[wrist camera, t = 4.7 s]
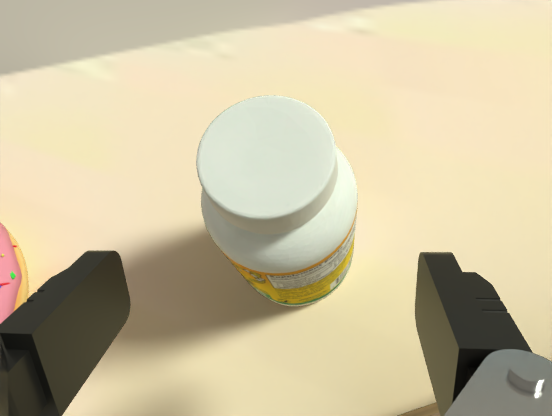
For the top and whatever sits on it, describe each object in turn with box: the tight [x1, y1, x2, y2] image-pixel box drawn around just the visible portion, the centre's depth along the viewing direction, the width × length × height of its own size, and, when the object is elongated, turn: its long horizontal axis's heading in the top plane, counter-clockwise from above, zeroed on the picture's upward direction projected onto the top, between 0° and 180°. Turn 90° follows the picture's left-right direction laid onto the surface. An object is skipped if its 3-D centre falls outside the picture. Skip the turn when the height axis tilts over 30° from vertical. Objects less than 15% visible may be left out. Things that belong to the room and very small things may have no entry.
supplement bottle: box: [196, 95, 358, 306], centre depth 17 cm, size 5×5×10 cm
